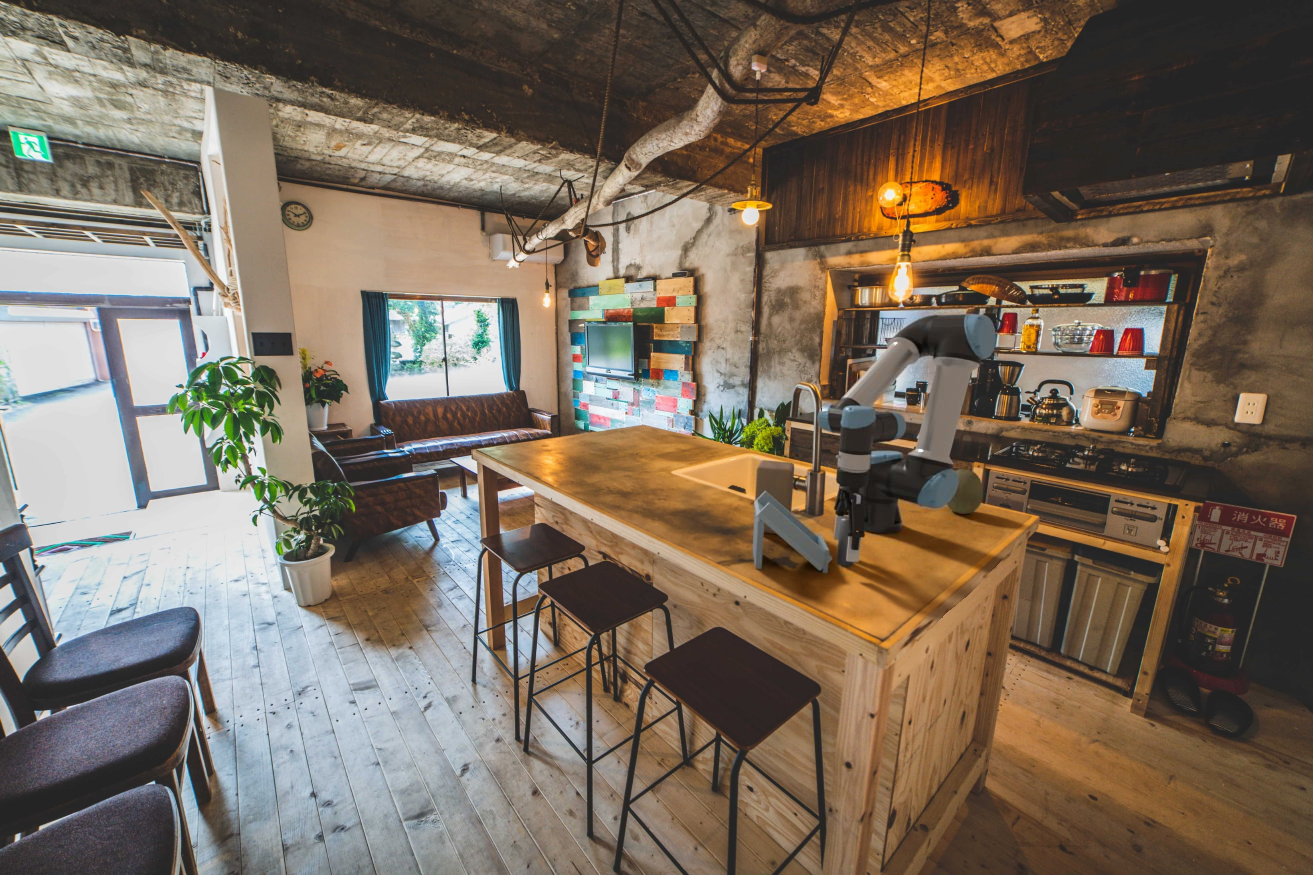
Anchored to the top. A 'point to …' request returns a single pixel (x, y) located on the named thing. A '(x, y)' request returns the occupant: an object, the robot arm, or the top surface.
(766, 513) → the chute
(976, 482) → the fruit
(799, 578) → the top surface
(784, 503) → the wooden block
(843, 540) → the peg
